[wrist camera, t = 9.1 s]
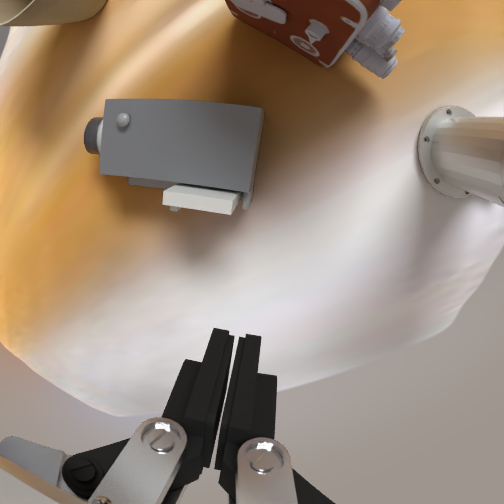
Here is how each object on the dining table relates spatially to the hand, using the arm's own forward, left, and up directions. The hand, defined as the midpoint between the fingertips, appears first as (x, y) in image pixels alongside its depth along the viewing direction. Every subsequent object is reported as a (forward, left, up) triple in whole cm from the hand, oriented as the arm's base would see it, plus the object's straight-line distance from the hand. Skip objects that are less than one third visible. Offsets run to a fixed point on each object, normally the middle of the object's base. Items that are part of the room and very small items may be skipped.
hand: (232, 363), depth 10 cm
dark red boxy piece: (-2, -22, -29) cm, 37 cm away
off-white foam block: (+7, 0, -28) cm, 29 cm away
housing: (+12, -5, -29) cm, 32 cm away
